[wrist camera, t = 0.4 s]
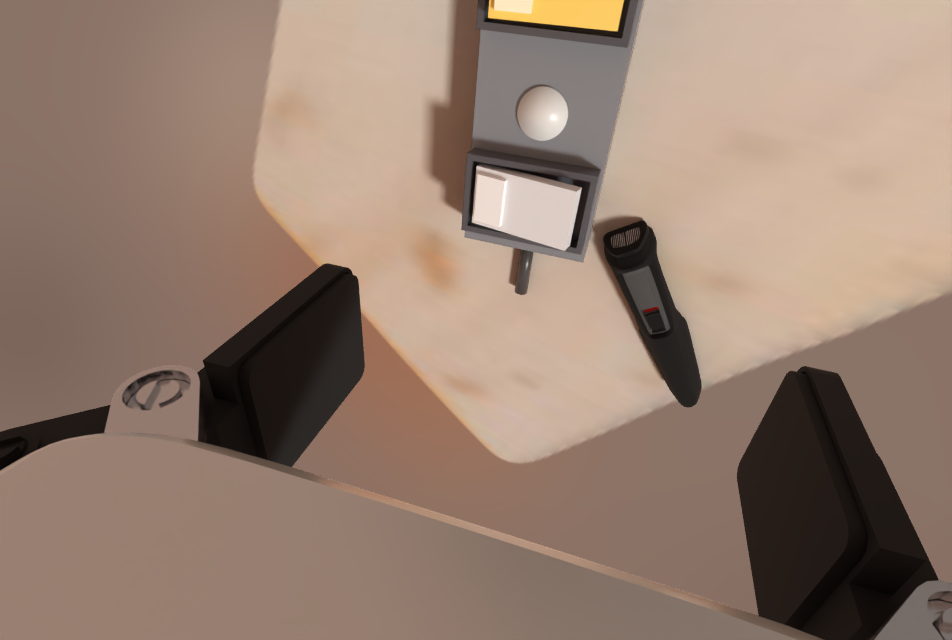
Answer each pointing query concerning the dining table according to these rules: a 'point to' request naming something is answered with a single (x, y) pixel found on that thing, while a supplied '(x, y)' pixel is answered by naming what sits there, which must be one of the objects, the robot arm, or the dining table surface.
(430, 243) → the dining table surface
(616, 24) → the amber rocker
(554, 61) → the power strip
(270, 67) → the dining table surface
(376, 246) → the dining table surface
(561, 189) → the white rocker switch
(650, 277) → the electric trimmer
